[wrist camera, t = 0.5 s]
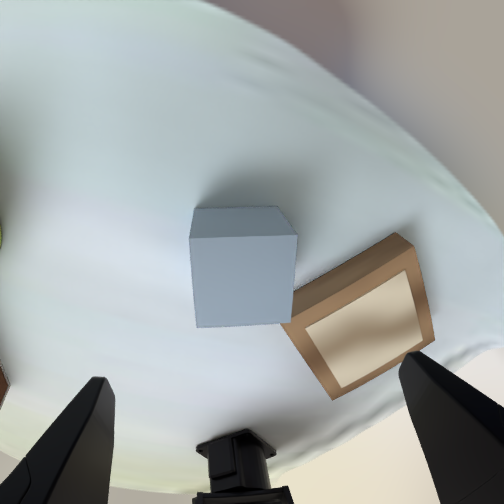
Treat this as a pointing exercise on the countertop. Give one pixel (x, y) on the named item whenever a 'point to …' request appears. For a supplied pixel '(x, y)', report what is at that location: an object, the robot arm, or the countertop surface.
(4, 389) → the food container
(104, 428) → the robot arm
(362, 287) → the base
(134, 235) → the countertop surface
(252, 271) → the block
